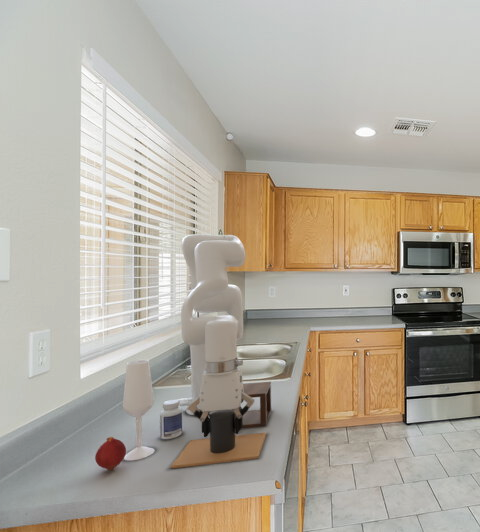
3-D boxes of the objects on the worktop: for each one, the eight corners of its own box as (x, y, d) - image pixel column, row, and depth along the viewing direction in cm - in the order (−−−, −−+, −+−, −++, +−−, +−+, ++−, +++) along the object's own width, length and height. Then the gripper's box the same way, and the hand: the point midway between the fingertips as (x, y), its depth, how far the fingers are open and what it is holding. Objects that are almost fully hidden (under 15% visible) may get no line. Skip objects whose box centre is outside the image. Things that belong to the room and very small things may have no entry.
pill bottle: (186, 432, 109) (186, 399, 109) (170, 440, 104) (169, 406, 104) (172, 430, 111) (172, 397, 111) (155, 438, 106) (155, 404, 106)
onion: (107, 464, 92) (106, 431, 92) (131, 462, 93) (131, 430, 93) (89, 477, 86) (89, 442, 87) (115, 475, 87) (115, 441, 87)
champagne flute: (160, 447, 101) (159, 358, 101) (143, 460, 94) (142, 364, 94) (135, 448, 100) (133, 359, 100) (116, 461, 94) (115, 365, 94)
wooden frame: (223, 430, 111) (222, 396, 111) (233, 415, 122) (232, 384, 122) (266, 426, 113) (265, 393, 113) (271, 411, 125) (270, 381, 125)
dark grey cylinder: (207, 454, 95) (206, 419, 95) (213, 444, 101) (213, 410, 101) (232, 452, 96) (231, 417, 96) (237, 441, 102) (237, 408, 102)
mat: (170, 468, 90) (170, 466, 90) (190, 442, 103) (190, 440, 103) (258, 458, 94) (258, 456, 94) (266, 434, 107) (266, 432, 107)
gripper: (258, 360, 104) (259, 424, 104) (190, 364, 100) (191, 431, 100) (253, 367, 97) (254, 436, 96) (180, 372, 93) (181, 443, 93)
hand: (222, 432), depth 98 cm, fingers open, 7 cm apart
